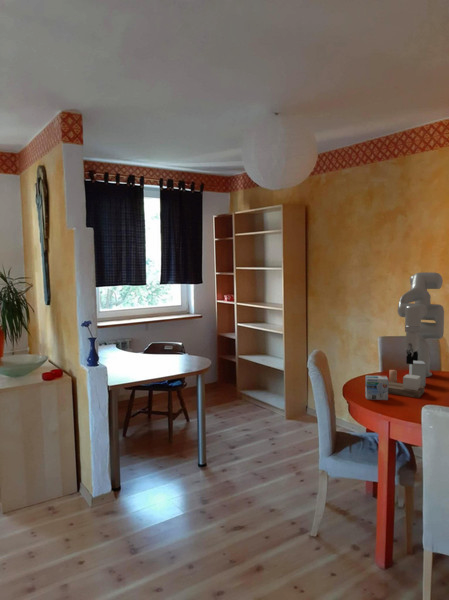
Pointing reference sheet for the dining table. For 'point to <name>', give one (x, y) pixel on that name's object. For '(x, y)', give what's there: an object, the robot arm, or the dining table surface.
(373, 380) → the light bulb box
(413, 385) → the cover
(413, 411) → the dining table surface
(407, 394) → the board
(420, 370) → the supplement box
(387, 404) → the dining table surface
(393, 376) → the tan rounded egg shape
